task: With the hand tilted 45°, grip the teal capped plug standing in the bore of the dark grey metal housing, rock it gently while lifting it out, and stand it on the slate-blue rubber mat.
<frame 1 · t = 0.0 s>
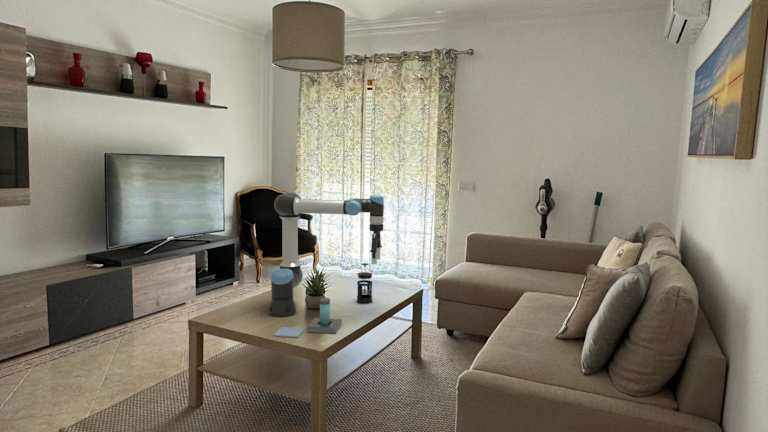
hand: (375, 261, 294), 28 cm above the table, tool pointing down, fingers open, 13 cm apart
housing: (324, 328, 267), on the table
plug: (324, 313, 266), in the housing
mat: (289, 333, 259), on the table
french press: (364, 302, 315), on the table
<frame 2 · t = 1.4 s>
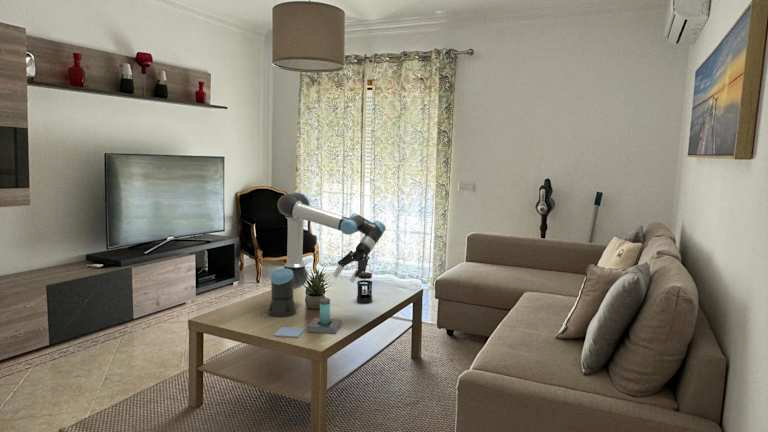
hand: (342, 278, 271), 24 cm above the table, tool tilted 45°, fingers open, 13 cm apart
nothing on the table moved.
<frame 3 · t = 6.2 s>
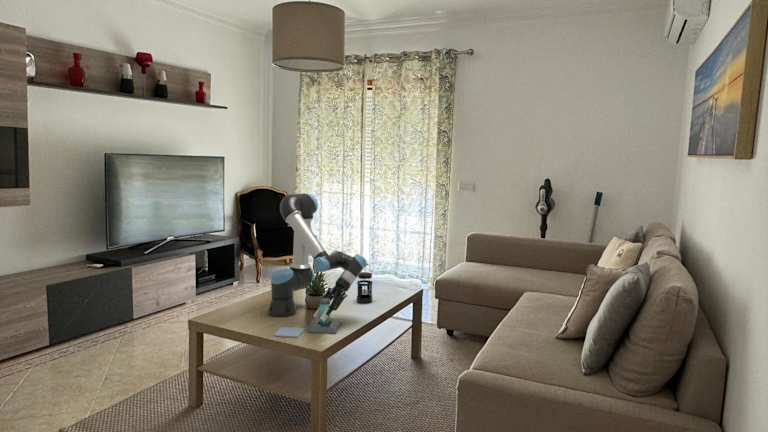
hand: (318, 318, 263), 6 cm above the table, tool tilted 45°, fingers closed on plug, 5 cm apart
plug: (324, 313, 266), in the housing, touching gripper
everything else where it was.
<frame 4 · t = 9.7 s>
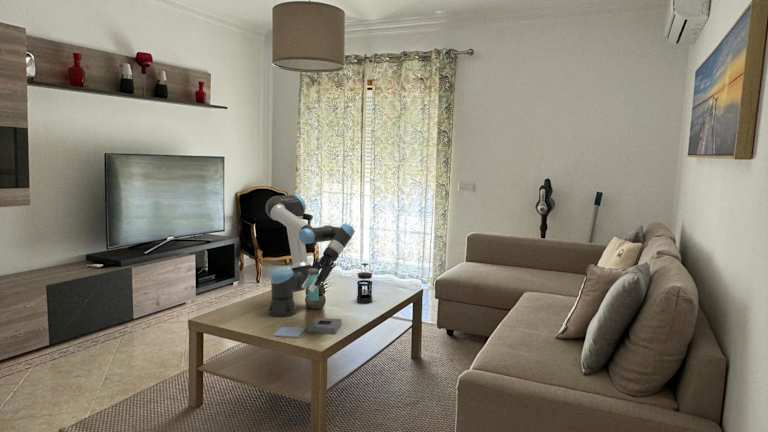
hand: (307, 289, 257), 22 cm above the table, tool tilted 45°, fingers closed on plug, 5 cm apart
plug: (313, 284, 260), point 23 cm above the table, touching gripper
everything else where it was.
when the fingers open (8 cm above the table, at t = 13.4 s): plug drops 1 cm, resting on mat.
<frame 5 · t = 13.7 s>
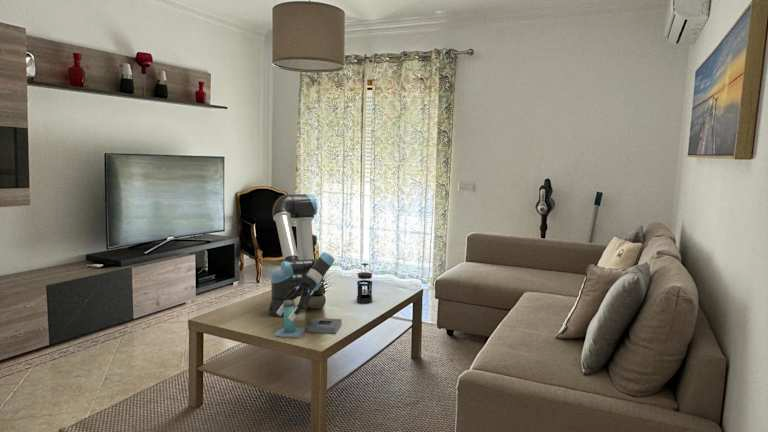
hand: (284, 316, 256), 9 cm above the table, tool tilted 45°, fingers open, 10 cm apart
plug: (289, 316, 257), on the mat, point 8 cm above the table
everything else where it was.
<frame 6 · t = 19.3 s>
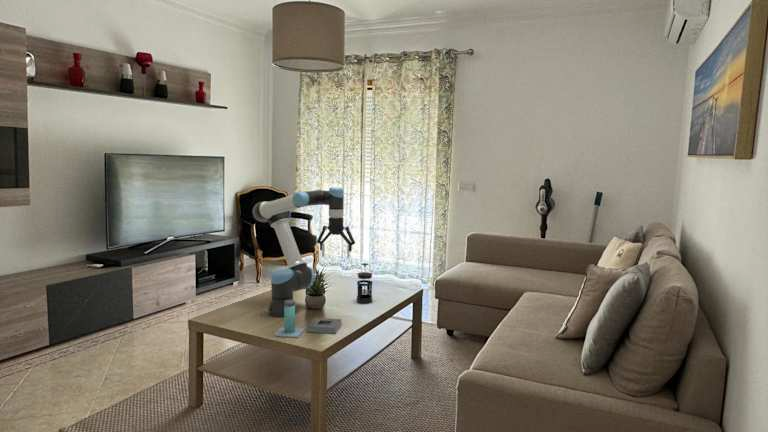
hand: (335, 257, 281), 33 cm above the table, tool pointing down, fingers open, 13 cm apart
at the end: plug inside the target area on the mat (0.0 cm from its centre), point 8.4 cm above the mat's base; plug tilted 1°; plug touching mat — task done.
